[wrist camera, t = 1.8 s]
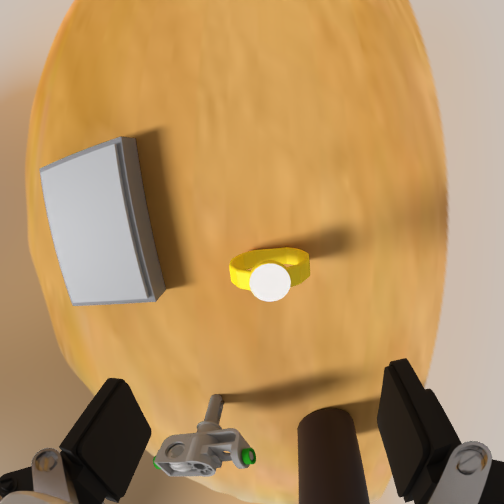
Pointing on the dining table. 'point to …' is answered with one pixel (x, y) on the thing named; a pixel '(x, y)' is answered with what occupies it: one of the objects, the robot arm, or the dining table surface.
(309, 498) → the bottle
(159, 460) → the mechanical component
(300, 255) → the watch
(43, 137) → the dining table surface
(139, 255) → the stand
